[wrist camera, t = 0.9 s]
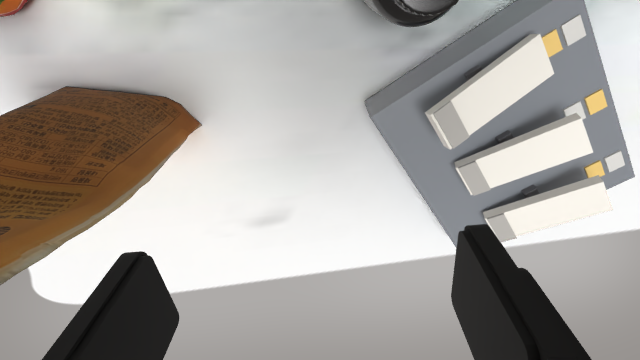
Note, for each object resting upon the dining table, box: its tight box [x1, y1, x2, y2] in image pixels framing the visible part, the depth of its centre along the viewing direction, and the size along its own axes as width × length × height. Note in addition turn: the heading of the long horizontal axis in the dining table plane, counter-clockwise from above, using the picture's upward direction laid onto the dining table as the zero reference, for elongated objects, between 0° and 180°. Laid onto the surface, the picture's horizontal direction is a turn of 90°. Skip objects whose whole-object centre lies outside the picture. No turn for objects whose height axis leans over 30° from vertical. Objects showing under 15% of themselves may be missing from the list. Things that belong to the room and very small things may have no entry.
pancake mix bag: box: [0, 87, 202, 285], centre depth 23 cm, size 7×19×28 cm, turn 84°
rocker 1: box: [425, 34, 554, 149], centre depth 27 cm, size 10×4×1 cm, turn 125°
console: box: [365, 0, 635, 248], centre depth 34 cm, size 18×20×6 cm
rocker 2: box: [454, 113, 593, 196], centre depth 30 cm, size 10×4×1 cm, turn 125°
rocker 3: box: [483, 175, 613, 242], centre depth 33 cm, size 10×4×1 cm, turn 125°
